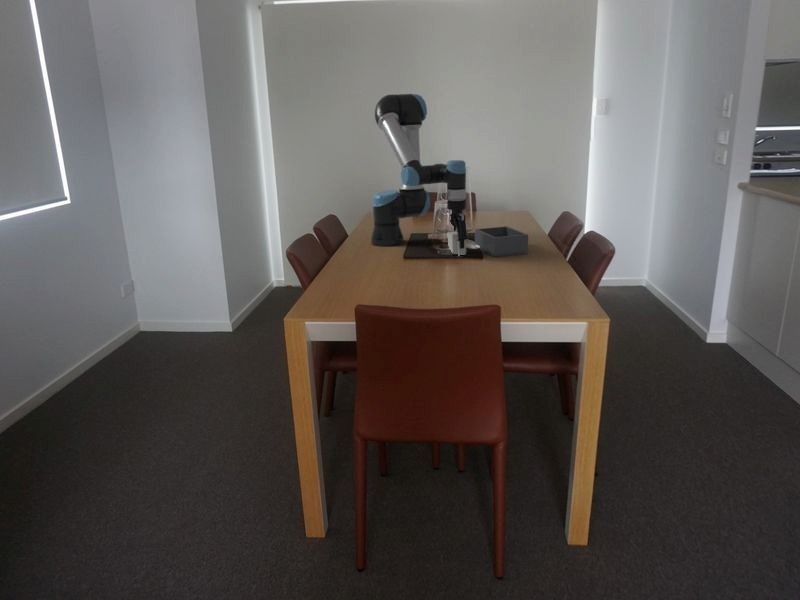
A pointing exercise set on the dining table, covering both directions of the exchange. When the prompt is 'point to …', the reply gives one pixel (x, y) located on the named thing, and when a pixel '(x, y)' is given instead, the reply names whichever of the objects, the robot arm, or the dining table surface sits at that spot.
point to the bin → (501, 241)
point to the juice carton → (453, 242)
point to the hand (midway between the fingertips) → (456, 253)
